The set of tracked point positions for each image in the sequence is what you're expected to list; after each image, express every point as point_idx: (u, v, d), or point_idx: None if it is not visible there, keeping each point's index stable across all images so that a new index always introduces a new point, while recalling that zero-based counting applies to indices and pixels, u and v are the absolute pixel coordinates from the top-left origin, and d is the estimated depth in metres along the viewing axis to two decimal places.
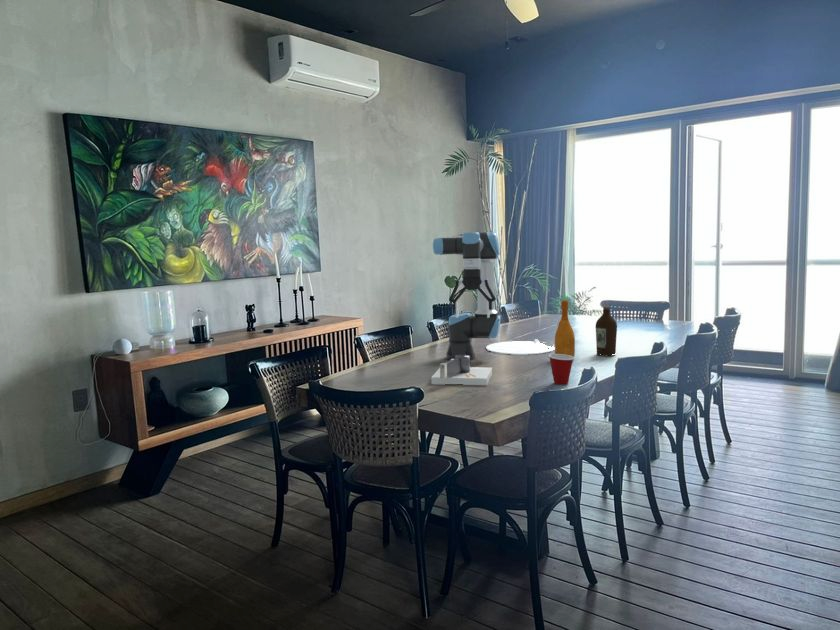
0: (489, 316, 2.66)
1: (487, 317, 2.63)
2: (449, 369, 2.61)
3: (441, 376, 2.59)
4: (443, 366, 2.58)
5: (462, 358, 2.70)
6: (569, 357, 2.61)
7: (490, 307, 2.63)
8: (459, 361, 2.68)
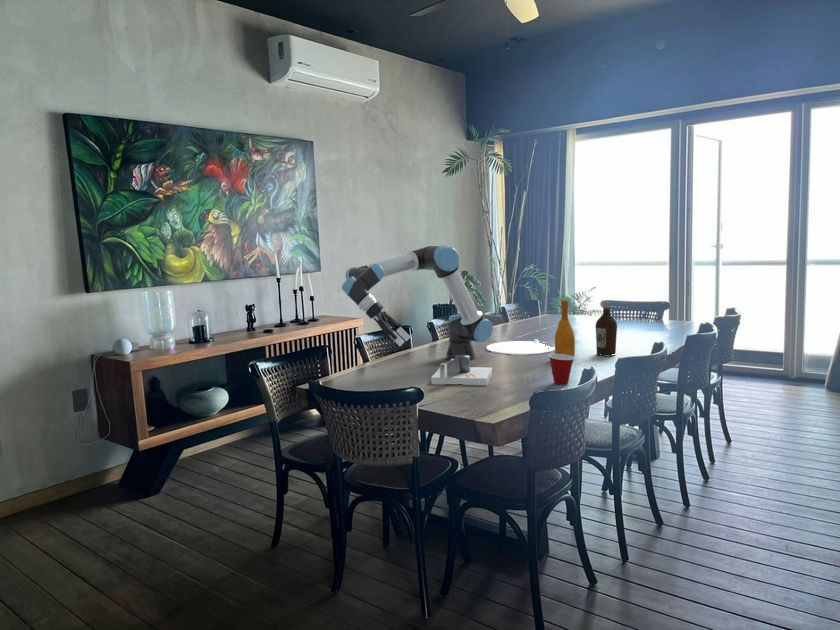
0: (403, 342, 2.57)
1: None
2: (449, 369, 2.61)
3: (441, 376, 2.59)
4: (443, 366, 2.58)
5: (462, 358, 2.70)
6: (569, 357, 2.61)
7: None
8: (459, 361, 2.68)
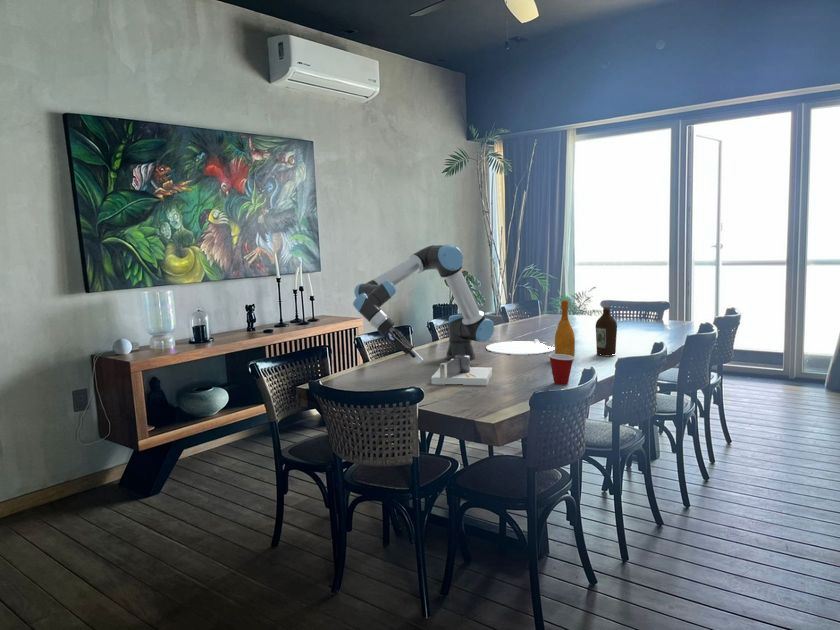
0: (421, 360, 2.62)
1: None
2: (449, 369, 2.61)
3: (441, 376, 2.59)
4: (443, 366, 2.58)
5: (462, 358, 2.70)
6: (569, 357, 2.61)
7: None
8: (459, 361, 2.68)
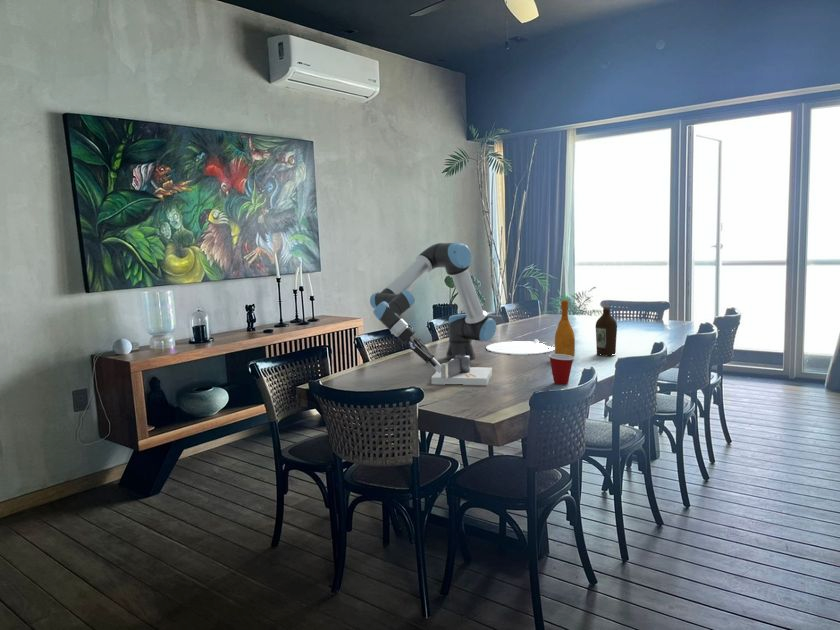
0: None
1: (439, 372, 2.62)
2: (450, 369, 2.61)
3: (442, 376, 2.58)
4: (444, 366, 2.57)
5: (462, 358, 2.70)
6: (569, 357, 2.61)
7: None
8: (459, 361, 2.68)
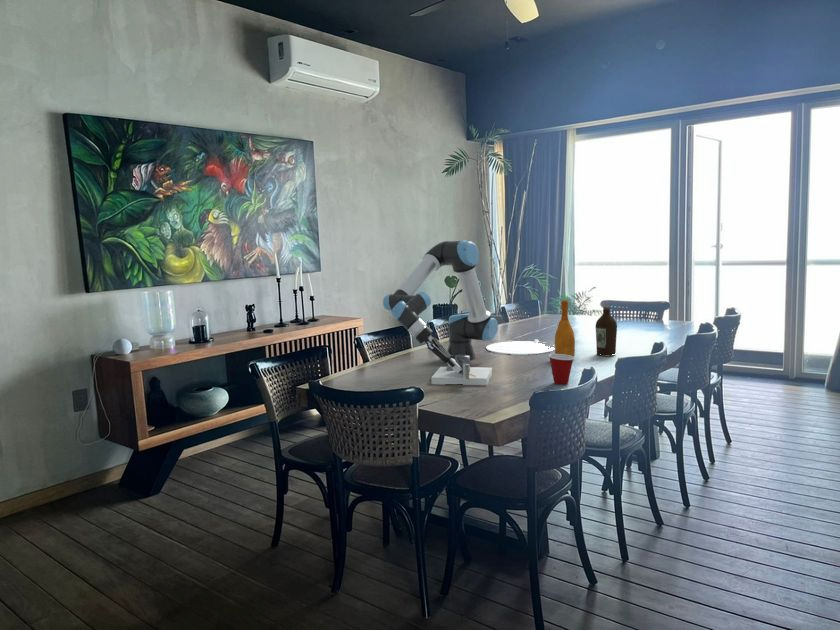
0: (460, 369, 2.59)
1: (457, 373, 2.60)
2: None
3: (465, 377, 2.56)
4: (467, 367, 2.55)
5: (466, 358, 2.70)
6: (569, 357, 2.61)
7: None
8: None
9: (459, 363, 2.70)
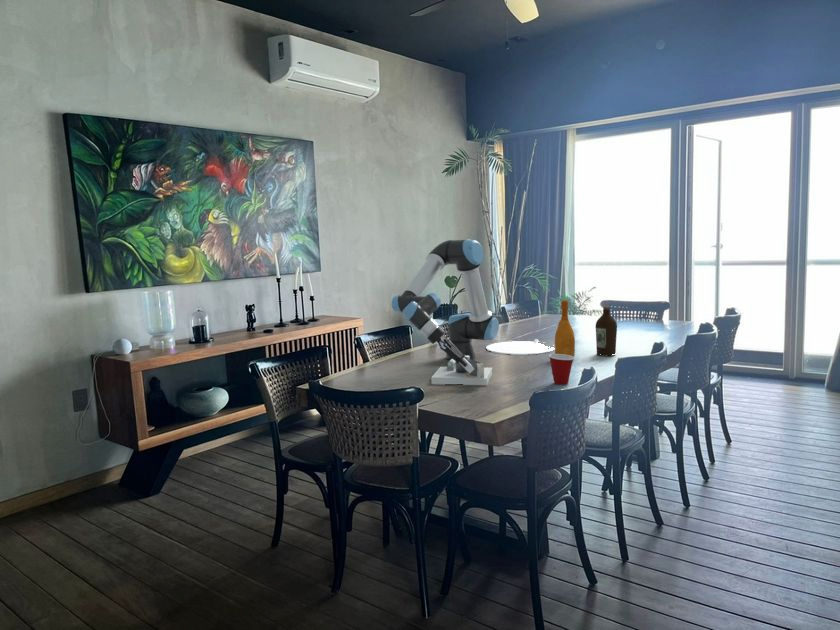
0: (473, 369, 2.58)
1: None
2: None
3: (480, 376, 2.57)
4: (482, 365, 2.57)
5: (468, 357, 2.71)
6: (569, 357, 2.61)
7: None
8: None
9: None
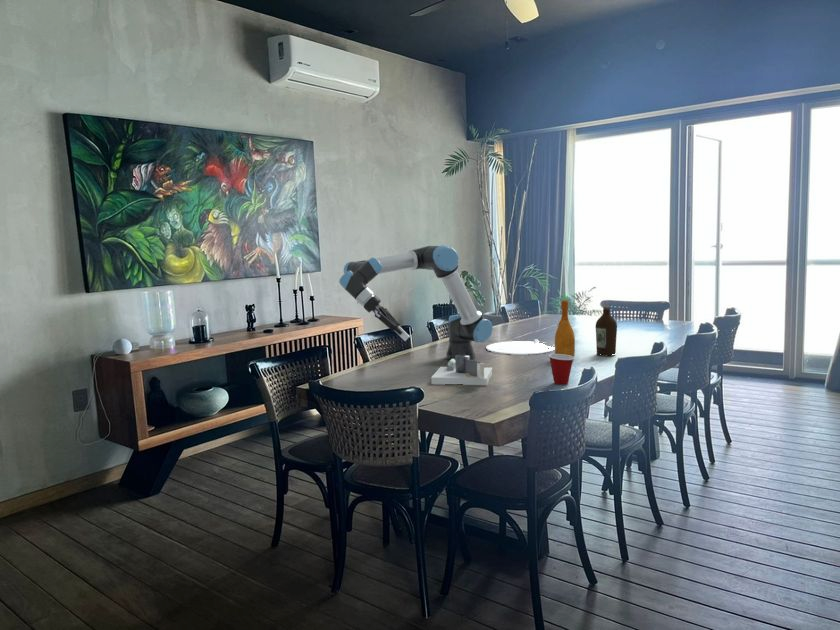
0: (408, 337, 2.63)
1: (405, 340, 2.64)
2: None
3: (480, 376, 2.57)
4: (482, 365, 2.57)
5: (468, 357, 2.71)
6: (569, 357, 2.61)
7: None
8: None
9: (462, 363, 2.70)
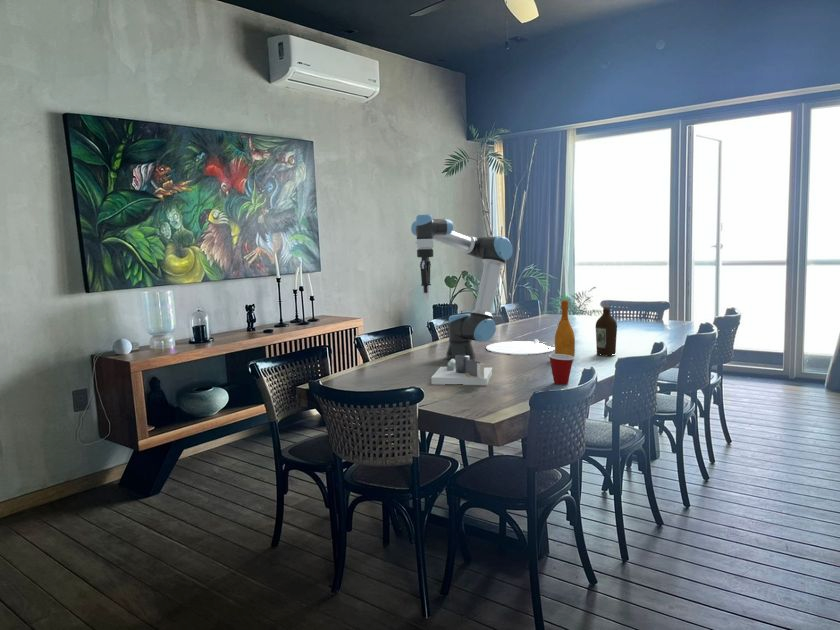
0: (428, 299, 2.83)
1: (423, 299, 2.84)
2: None
3: (480, 376, 2.57)
4: (482, 365, 2.57)
5: (468, 357, 2.71)
6: (569, 357, 2.61)
7: None
8: None
9: (462, 363, 2.70)
